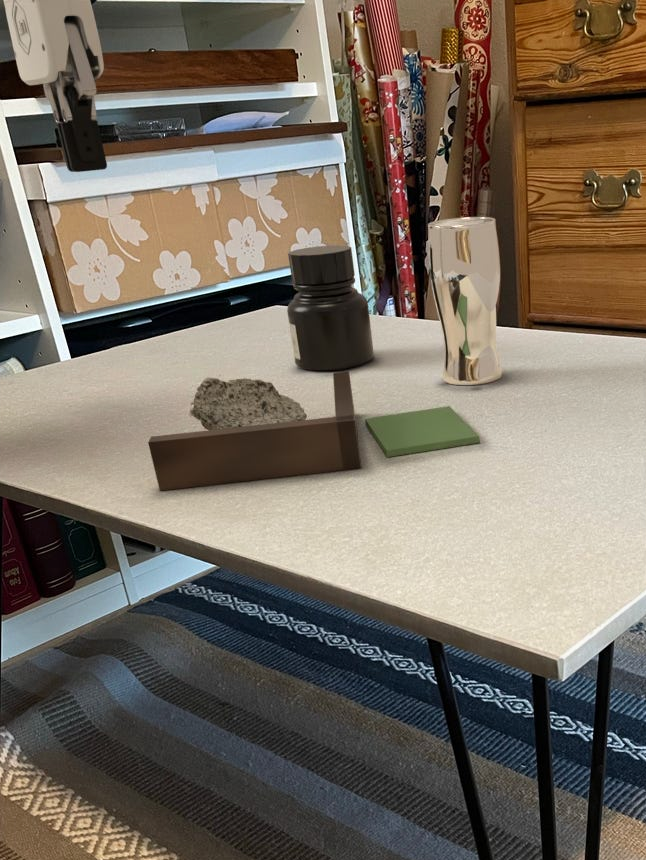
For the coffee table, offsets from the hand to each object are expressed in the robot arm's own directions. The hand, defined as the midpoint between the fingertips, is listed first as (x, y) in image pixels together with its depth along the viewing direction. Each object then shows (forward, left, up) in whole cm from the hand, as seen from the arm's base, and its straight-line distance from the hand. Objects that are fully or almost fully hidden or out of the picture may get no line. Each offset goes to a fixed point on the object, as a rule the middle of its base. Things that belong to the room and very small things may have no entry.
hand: (88, 170), depth 91 cm
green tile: (+27, -21, -22) cm, 41 cm away
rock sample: (+14, -18, -22) cm, 32 cm away
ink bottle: (+20, +9, -22) cm, 31 cm away
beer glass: (+34, -4, -22) cm, 41 cm away
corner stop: (+14, -20, -22) cm, 33 cm away
